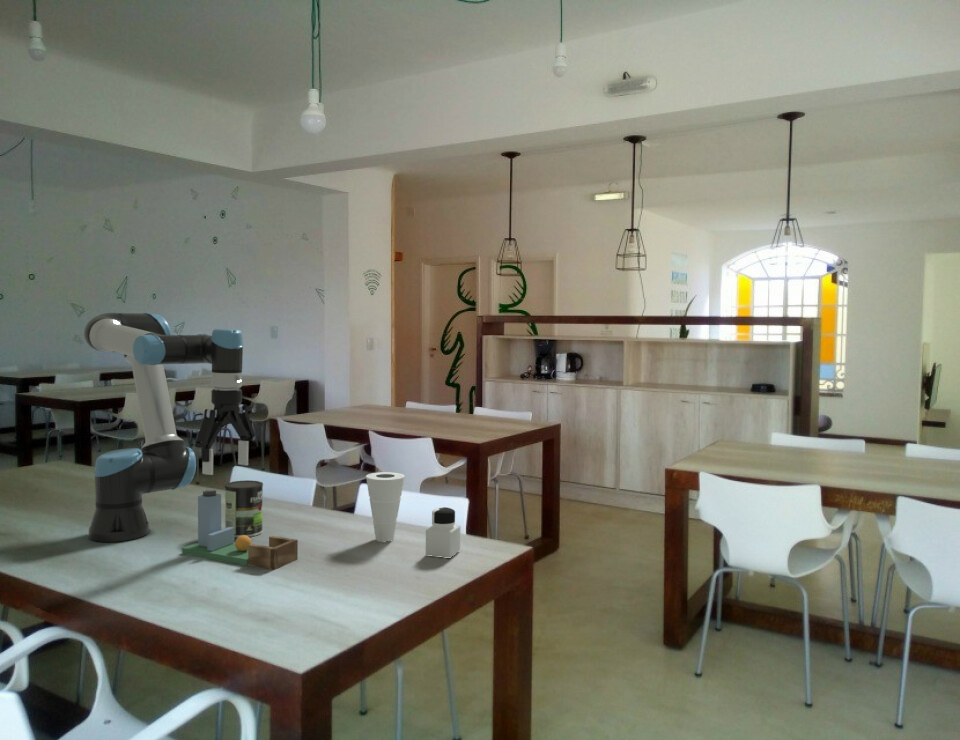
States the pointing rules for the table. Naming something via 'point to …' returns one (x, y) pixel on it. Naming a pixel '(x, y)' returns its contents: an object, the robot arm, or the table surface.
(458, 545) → the medicine bottle
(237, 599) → the table surface
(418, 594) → the table surface
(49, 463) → the table surface
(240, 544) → the ball
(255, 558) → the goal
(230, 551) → the plate
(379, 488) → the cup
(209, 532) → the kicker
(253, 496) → the coffee can
